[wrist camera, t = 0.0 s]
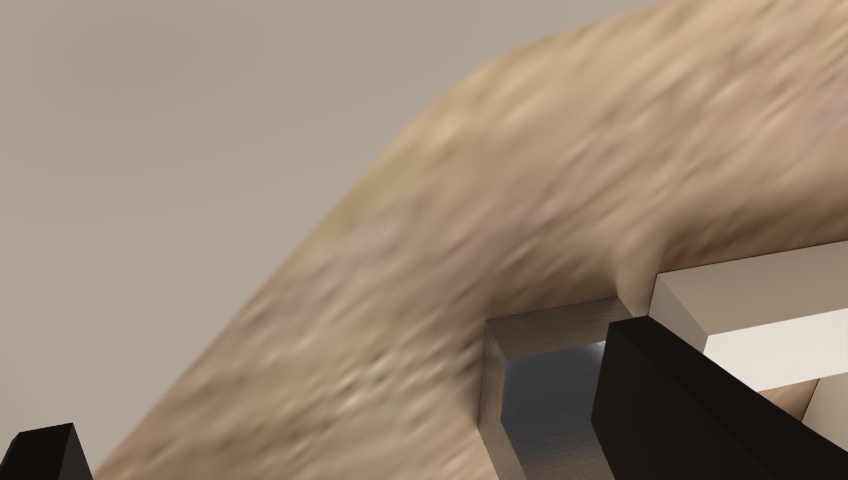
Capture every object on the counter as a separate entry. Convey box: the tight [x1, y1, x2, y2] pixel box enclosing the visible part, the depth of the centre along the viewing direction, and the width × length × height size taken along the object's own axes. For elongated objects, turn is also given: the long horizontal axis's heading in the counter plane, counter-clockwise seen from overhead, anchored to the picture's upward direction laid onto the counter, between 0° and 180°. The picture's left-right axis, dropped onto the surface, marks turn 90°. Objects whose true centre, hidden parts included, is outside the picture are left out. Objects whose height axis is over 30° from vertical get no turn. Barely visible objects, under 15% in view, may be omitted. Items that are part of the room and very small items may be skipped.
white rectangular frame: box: [648, 241, 848, 452], centre depth 30 cm, size 13×11×3 cm
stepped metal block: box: [478, 297, 633, 480], centre depth 24 cm, size 5×4×8 cm
